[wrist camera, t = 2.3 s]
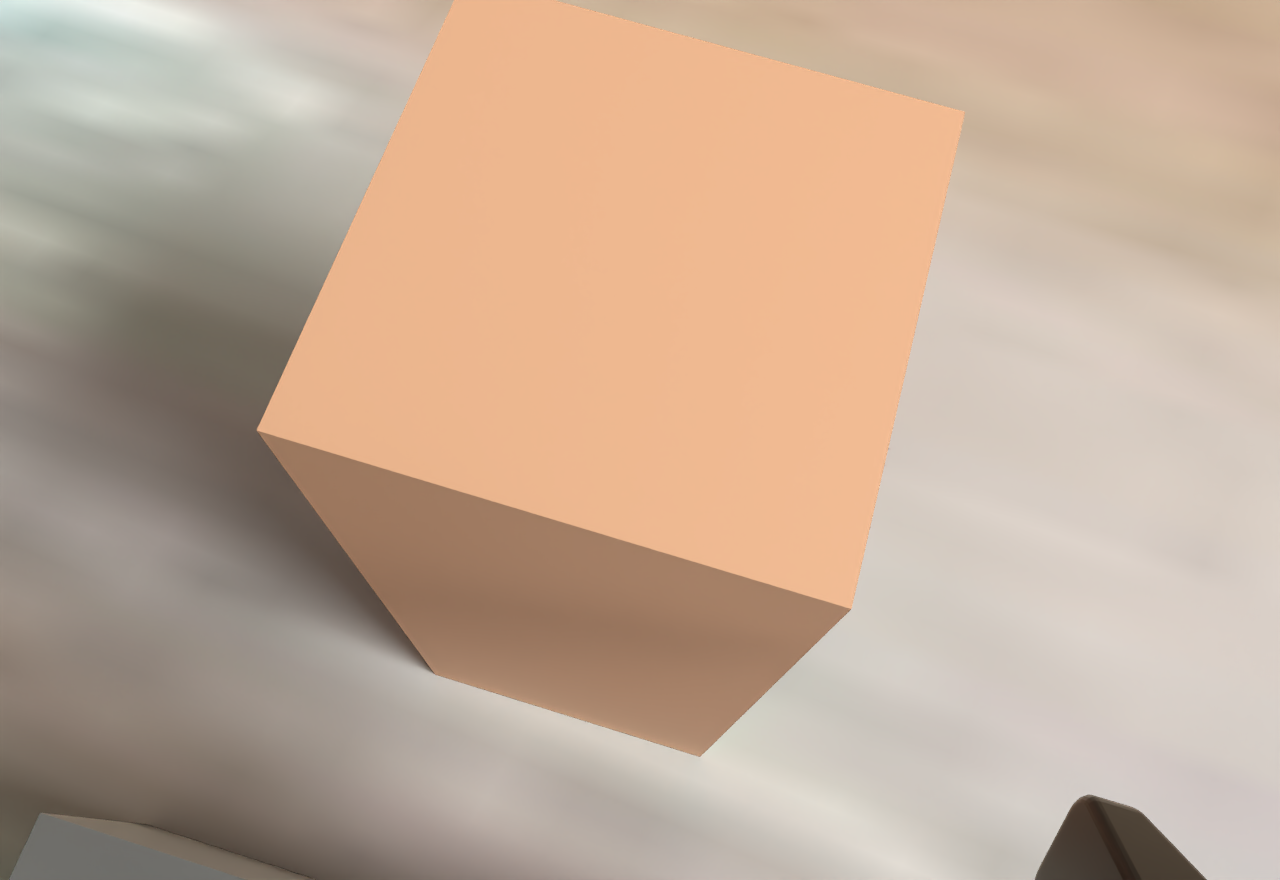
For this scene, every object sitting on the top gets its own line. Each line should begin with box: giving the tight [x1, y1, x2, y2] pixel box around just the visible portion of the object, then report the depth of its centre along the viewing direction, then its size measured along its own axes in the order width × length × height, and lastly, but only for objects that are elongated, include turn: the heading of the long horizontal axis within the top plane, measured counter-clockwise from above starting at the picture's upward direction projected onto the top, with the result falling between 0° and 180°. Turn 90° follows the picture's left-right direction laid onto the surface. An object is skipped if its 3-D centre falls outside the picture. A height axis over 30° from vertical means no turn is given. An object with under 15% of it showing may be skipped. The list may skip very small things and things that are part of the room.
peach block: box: [257, 0, 965, 757], centre depth 15 cm, size 5×5×12 cm
